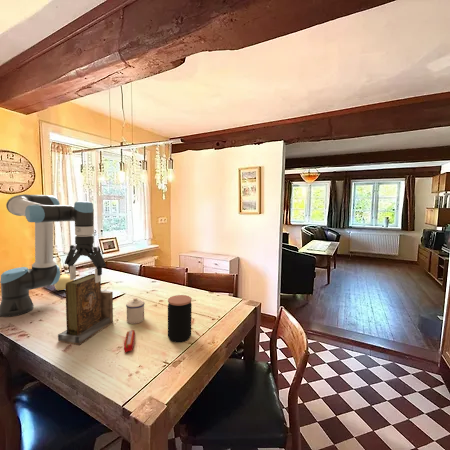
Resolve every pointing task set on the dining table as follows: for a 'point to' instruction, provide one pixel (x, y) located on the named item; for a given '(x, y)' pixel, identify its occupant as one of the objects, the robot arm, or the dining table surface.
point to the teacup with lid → (135, 311)
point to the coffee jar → (179, 318)
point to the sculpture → (62, 282)
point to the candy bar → (129, 341)
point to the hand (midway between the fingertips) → (85, 280)
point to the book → (82, 304)
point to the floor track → (103, 311)
